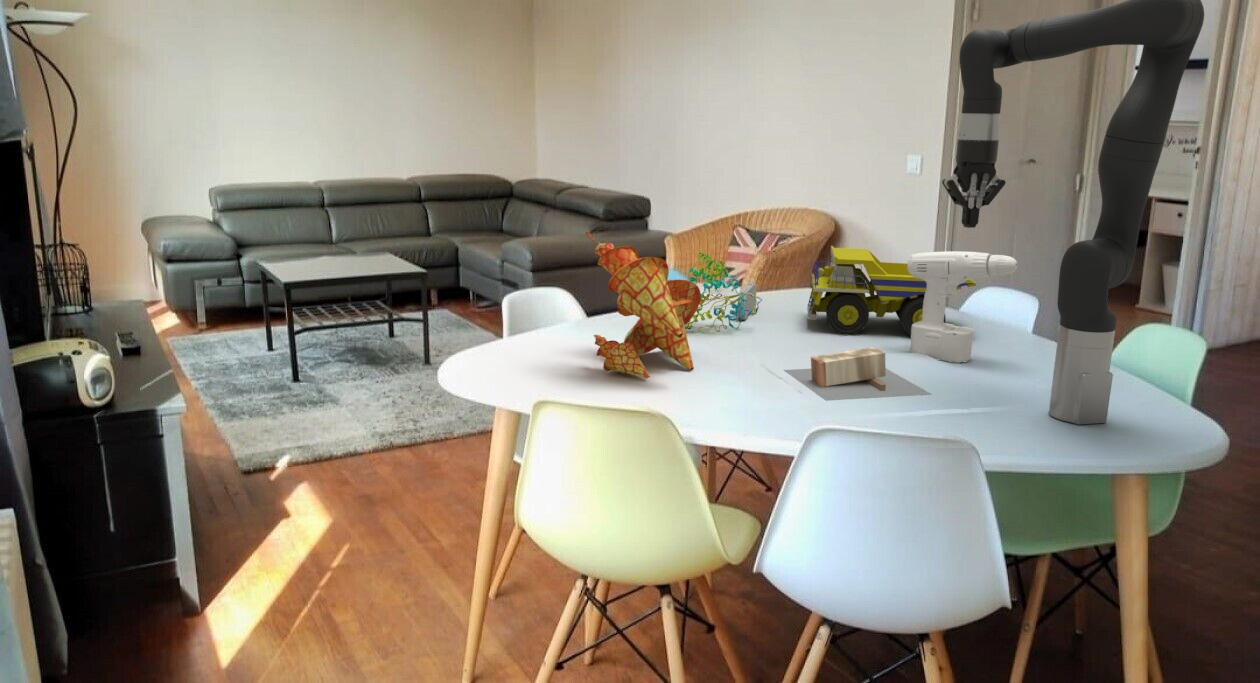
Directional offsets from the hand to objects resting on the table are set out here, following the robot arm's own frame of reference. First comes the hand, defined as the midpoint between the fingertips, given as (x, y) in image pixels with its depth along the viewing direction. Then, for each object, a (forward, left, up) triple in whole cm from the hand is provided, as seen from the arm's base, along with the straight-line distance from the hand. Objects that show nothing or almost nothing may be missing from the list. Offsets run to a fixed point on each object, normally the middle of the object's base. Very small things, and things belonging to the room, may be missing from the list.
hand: (969, 227), depth 185 cm
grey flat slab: (+74, +19, -33) cm, 83 cm away
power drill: (+21, -12, -33) cm, 41 cm away
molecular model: (+59, +34, -33) cm, 76 cm away
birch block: (+4, +15, -28) cm, 32 cm away
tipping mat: (+4, +20, -33) cm, 39 cm away
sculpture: (+28, +58, -33) cm, 72 cm away
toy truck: (+53, -11, -33) cm, 63 cm away
